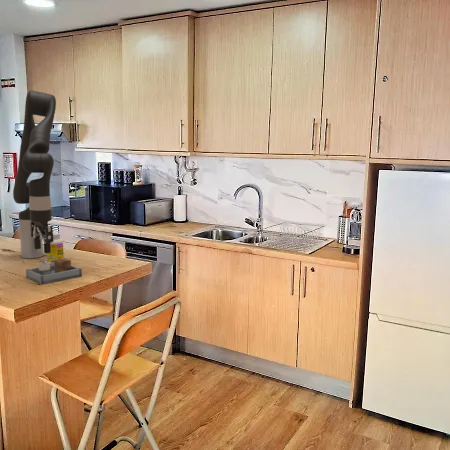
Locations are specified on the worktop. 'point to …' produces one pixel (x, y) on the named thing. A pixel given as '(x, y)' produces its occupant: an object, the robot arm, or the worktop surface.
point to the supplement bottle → (55, 249)
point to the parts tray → (53, 275)
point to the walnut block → (62, 265)
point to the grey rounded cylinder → (44, 267)
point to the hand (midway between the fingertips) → (42, 251)
